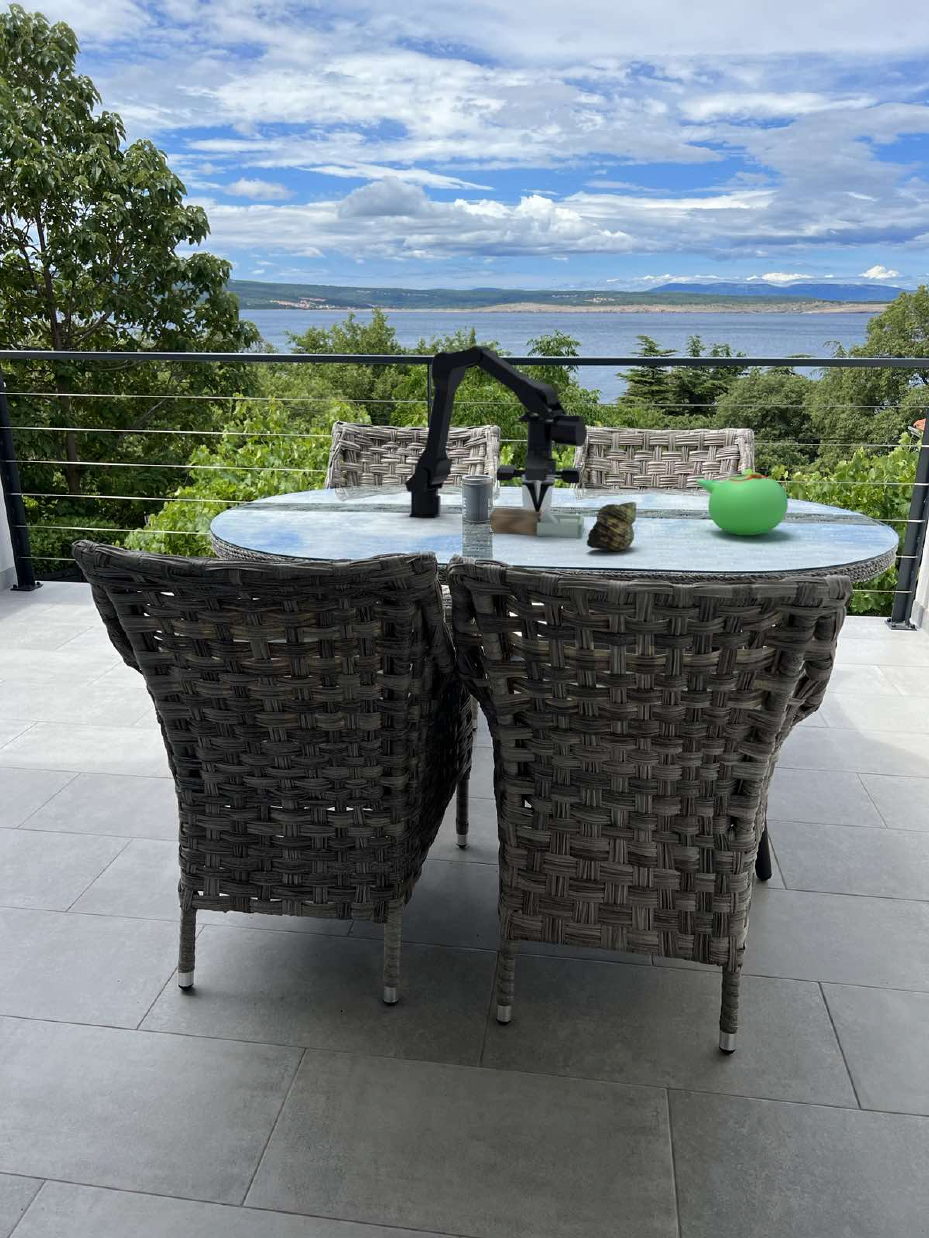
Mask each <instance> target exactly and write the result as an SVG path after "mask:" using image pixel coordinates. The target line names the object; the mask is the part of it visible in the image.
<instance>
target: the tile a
mask: <svg viewBox="0 0 929 1238" xmlns="http://www.w3.org/2000/svg"><path fill="white" fill-rule="evenodd" d="M552 514H553V513H552V512H551V510H550V511H549V510H548V509H546V510H545V511H543V512H542V513H541V514H540V516H539V518H540V519H541V520H542V522H544V523H558V521H557V519H556V518H555V517H554V516H553V515H552Z"/></svg>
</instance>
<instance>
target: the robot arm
mask: <svg viewBox="0 0 929 1238" xmlns="http://www.w3.org/2000/svg"><path fill="white" fill-rule="evenodd" d="M475 367H479V368H480V369H481V370H483V371H484V372H485V373H487V374H488V375H490V376H491V377H492V378H494V379H495V380H496V381H497V382H500V383H501V384H502V385H503V386H504V387H506V388H507V389H509V390H510V391H512V393H513V394H514V395H515V396H516V398H517V400H518V401H519V403H520V404H521V405H522V406H523V407H524V408H525V409H526V411H525V413H524V414H523V415H522V416H521V417H519V418H518V421H519V422H520V423H527V432H526V433H527V436H526V437H527V439H526V441H527V442H526V458H525V461H524V469H523V468H522V469H521V468H520V469H519V468H517V465H512V464H511V465H510V464H502V465H500V466H499V467H498V468H497V469H496V478H495V480H496V481H499V482H500V481H503V482H504V481H505V482H510V481H511V480H513V479H514V478H521V486H522V485H526V487H527V488H528V490H529V492H530V495H531V498H532V501H533V504H534V508H535V511H536V512H539V511H540V508H541V505H542V502H543V499H544V497H545V494H546V492H547V490H548V488H549V486H553V487H554V486H555V484H556V480H562V481H563V483H564V484H580V481H581V478H582V477H581V475H582V474H581V471H582V470H581V469H580V468H579V467H571V466H570V467H567V466H565V467H563V468H562V469H561V470H557V458H553V442H554V444H555V445H559V446H569V447H580V448H581V447H582V446H584V444H585V442H586V439H587V435H588V429H587V428H586V427H587V426H586V423H585V421H584V420H583V419H584V416H583V415H582V414H576V415H574V414H572V415H571V414H567V412H566V410H565V409H564V407H563V405H562V404H561V402H560V400H559V396H558V391H557V390H556V389H555V388H554V387H553V386H551V385H549V384H547V383H545V382H542V381H540V380H536V379H534V378H532V377H529V376H527V375H526V374H524V373H523V372H521V371H520V370H519V369H517V368H516V367H514V366H513V365H511V364H510V363H509V362H507V361H506V360H505V359H503V358H502V357H500V356H499V355H497V354H496V353H494V352H493V351H492V350H491V349H490V348H489V347H488V346H487V345H476V346H472V347H471V348H470V347H469V348H468V349H464V350H458V351H457V350H454V351H440V352H437V354H434V356H433V357H432V360H431V379H432V382H433V386H434V395H433V400H432V406H431V412H430V420H429V425H428V426H429V427H428V432H427V437H426V443H425V447H424V450H423V451H422V452H421V454H420V456H419V457H418V460H417V463H416V466H415V468H414V471H413V474H412V476H410V478H409V479H408V480H407V481H406V482H405V483H404V484H405V488H406V490H407V492H409V493H410V506H411V507H410V513H409V517H413V518H414V517H415V518H416V517H418V518H420V517H421V518H436V517H437V516H438V515H440V513H441V507H442V506H441V502H442V501H441V499H442V498H441V495H439V489H440V490H441V489H443V486H444V483H445V481H448V479H449V475H452V472H451V471H452V470H451V469H452V464H453V461H454V459H453V458H452V457H451V458H449V457H448V454H447V451H446V450H447V444H448V438H449V432H450V425H451V420H452V413H453V408H454V404H455V402H454V401H455V397H456V396H455V395H456V391H458V389H459V387H460V385H461V384H462V382H463V380H464V378H465V375H466V372H467V370H469V369H471V368H475ZM537 480H539V481H542V482H541V484H540V493H539V499H538V494H537Z"/></svg>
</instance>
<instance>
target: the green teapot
mask: <svg viewBox="0 0 929 1238" xmlns="http://www.w3.org/2000/svg"><path fill="white" fill-rule="evenodd" d="M695 483H696V484H697V485H698V486H699V487H701V488H702V489H704V490H706V491H707V492H708V493H709V494H710V495H709V499H708V504H707V505H708V513H709V516H710V518H711V519H712V522H713V523H714V524H715V525H716V526H717V527H718V528H720V529H721V530H723V531H724V532H726V533H729V534H733V535H735V534H737V536H743V535H750V536H757V534H758V535H762V534H765V533H767V532H770V531H771V530H774V529H775V528H777V526H779V525H780V524H781V523H782V522H783V520H784V519H785V517H786V515H787V512H788V507H789V505H788V504H789V503H788V496H787V493H786V491H785V490H784V488H783V487H782V485H781V484H780V483H778V482H777V481H776V480H774V479H772V478H770V477H767V476H765V475H762V474H761V473H760V472H753V469H752V468H747V469H745V470H744V471H743V472H742V473H741V474H736V475H733V476H731V477H728V478H726V479H724V480H722V481H718V480H717V481H716V480H712V479H706V478H699V479H696V480H695Z"/></svg>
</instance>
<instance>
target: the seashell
mask: <svg viewBox="0 0 929 1238" xmlns="http://www.w3.org/2000/svg"><path fill="white" fill-rule="evenodd" d="M636 512H637V503H636V502H635V501H631V502H624V503H620V504H614V503H612V504H611V503H610V504H606V505H604V506H602V507H601V508H600V509H599V510H598V512H597V515H596V522H595V523H594V525H593V526H592V528H591V529H590V530H589V533H588V534H587V536H588V539H587V541H586V545H587V546H588V547H589V548H590V549H597V550H598V549H599V550H605V551H622V550H626V549H627V548H629V546H631V545H632V544H633V541H634V540H635V531H634V528H633V524H634V523H635V522H636V520H637V519H636V518H637V516H636Z"/></svg>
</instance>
